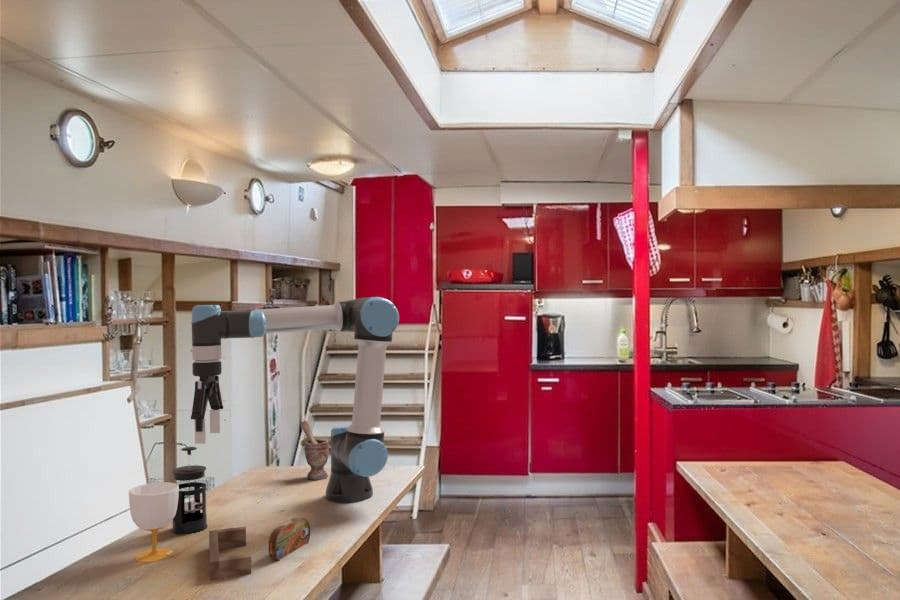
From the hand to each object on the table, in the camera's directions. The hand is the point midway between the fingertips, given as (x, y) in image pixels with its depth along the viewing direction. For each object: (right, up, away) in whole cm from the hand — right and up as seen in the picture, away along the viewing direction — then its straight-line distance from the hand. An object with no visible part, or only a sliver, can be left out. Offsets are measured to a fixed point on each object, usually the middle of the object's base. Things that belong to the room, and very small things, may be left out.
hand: (208, 438), depth 184 cm
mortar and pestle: (+17, -26, +58) cm, 66 cm away
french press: (-7, -27, +4) cm, 28 cm away
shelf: (+13, -27, -20) cm, 36 cm away
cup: (-8, -27, -15) cm, 32 cm away
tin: (+26, -27, -15) cm, 40 cm away
